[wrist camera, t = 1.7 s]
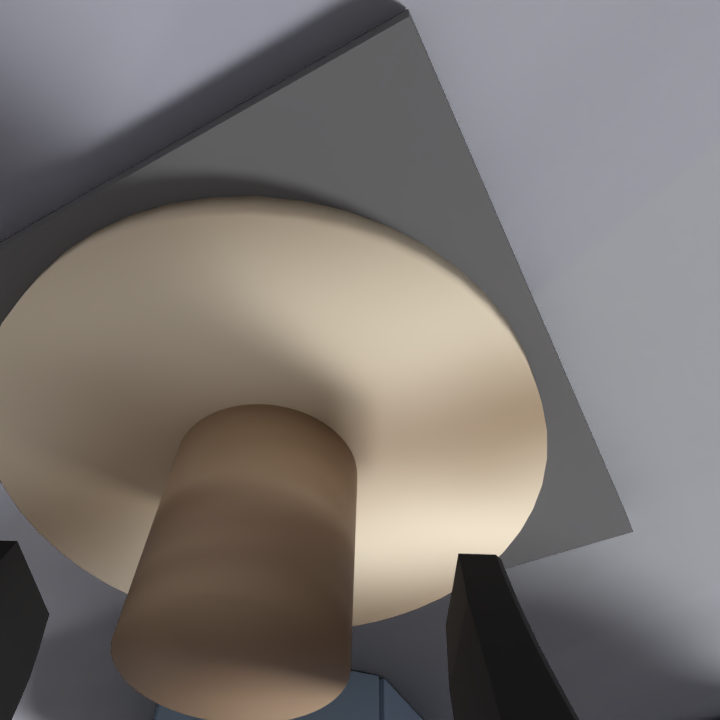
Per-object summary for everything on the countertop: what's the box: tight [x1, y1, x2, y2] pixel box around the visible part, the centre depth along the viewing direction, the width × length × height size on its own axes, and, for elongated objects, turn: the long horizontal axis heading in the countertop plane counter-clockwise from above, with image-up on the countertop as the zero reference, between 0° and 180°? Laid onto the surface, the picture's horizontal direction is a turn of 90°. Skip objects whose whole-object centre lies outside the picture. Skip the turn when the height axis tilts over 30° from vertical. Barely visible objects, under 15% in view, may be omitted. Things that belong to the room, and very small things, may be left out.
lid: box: [0, 196, 547, 720], centre depth 12 cm, size 11×11×5 cm
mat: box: [0, 9, 633, 569], centre depth 14 cm, size 12×12×1 cm
